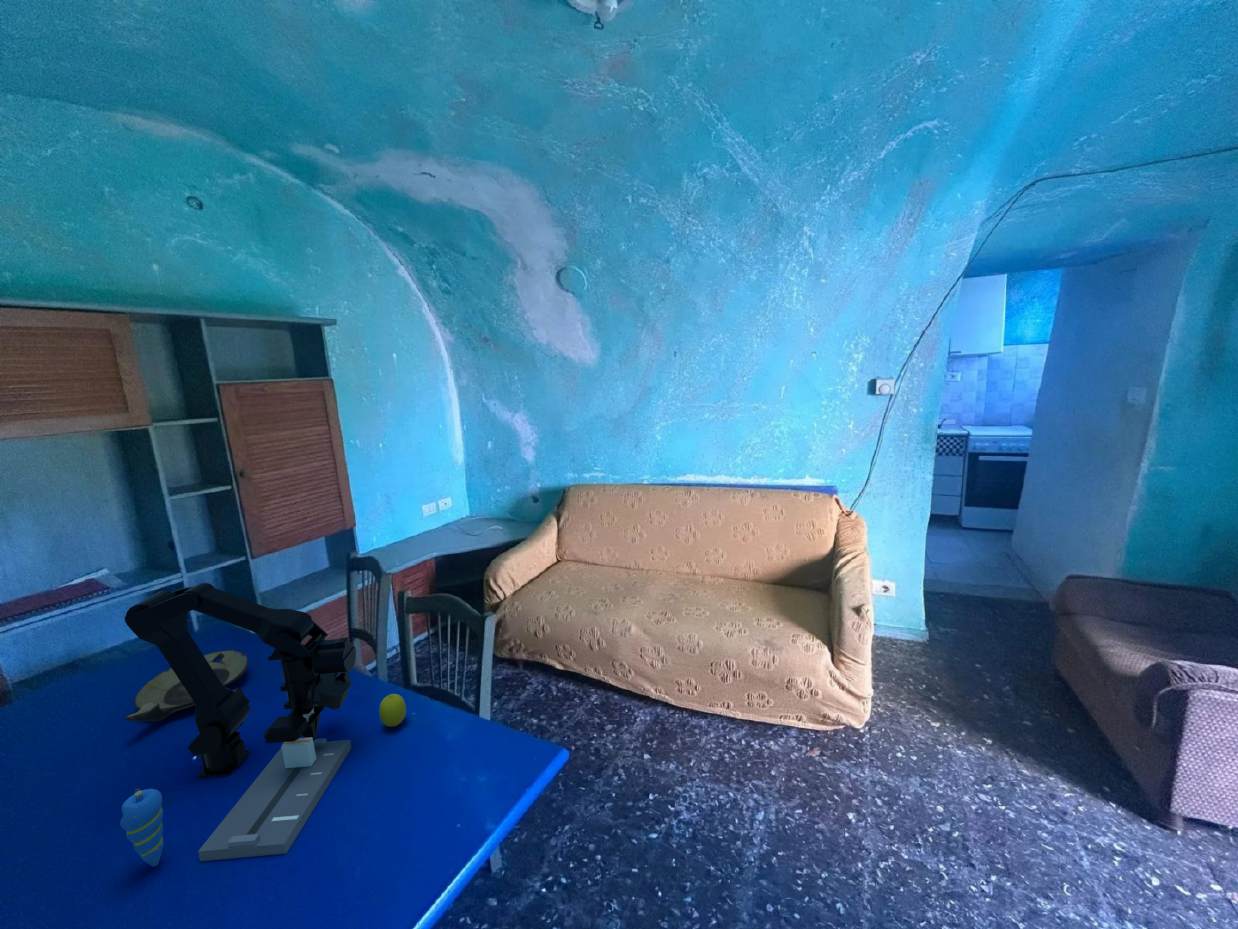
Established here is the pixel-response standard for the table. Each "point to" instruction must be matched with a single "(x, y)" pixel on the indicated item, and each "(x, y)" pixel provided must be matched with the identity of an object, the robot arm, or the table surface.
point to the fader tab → (299, 753)
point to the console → (275, 806)
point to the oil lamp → (172, 696)
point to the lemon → (392, 710)
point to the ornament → (144, 824)
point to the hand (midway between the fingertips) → (312, 740)
